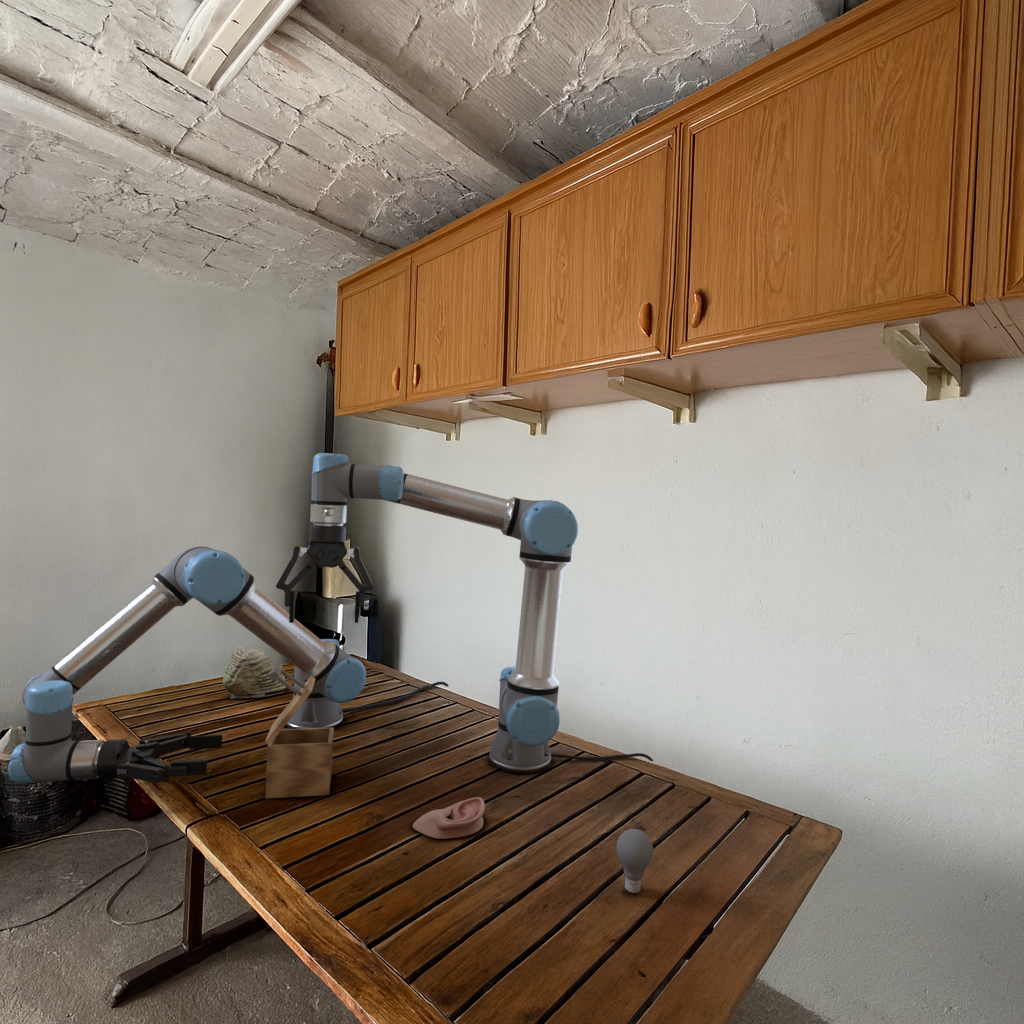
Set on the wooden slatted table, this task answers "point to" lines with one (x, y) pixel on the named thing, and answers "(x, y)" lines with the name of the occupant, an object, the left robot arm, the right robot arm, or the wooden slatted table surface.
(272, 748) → the chest
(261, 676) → the fossil
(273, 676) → the lid
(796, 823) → the wooden slatted table surface
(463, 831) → the anatomical model
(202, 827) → the wooden slatted table surface
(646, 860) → the light bulb
